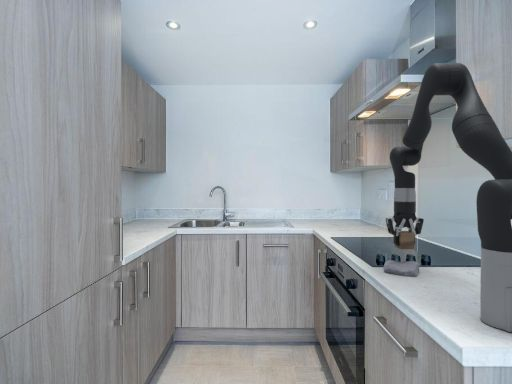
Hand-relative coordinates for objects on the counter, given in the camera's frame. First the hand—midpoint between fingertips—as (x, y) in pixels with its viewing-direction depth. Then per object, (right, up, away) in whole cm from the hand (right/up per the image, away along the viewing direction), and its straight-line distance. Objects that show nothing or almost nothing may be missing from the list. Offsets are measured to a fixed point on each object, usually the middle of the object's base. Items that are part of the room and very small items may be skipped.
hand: (404, 245), depth 122 cm
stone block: (-2, -10, -2) cm, 11 cm away
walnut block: (0, -1, 0) cm, 1 cm away
